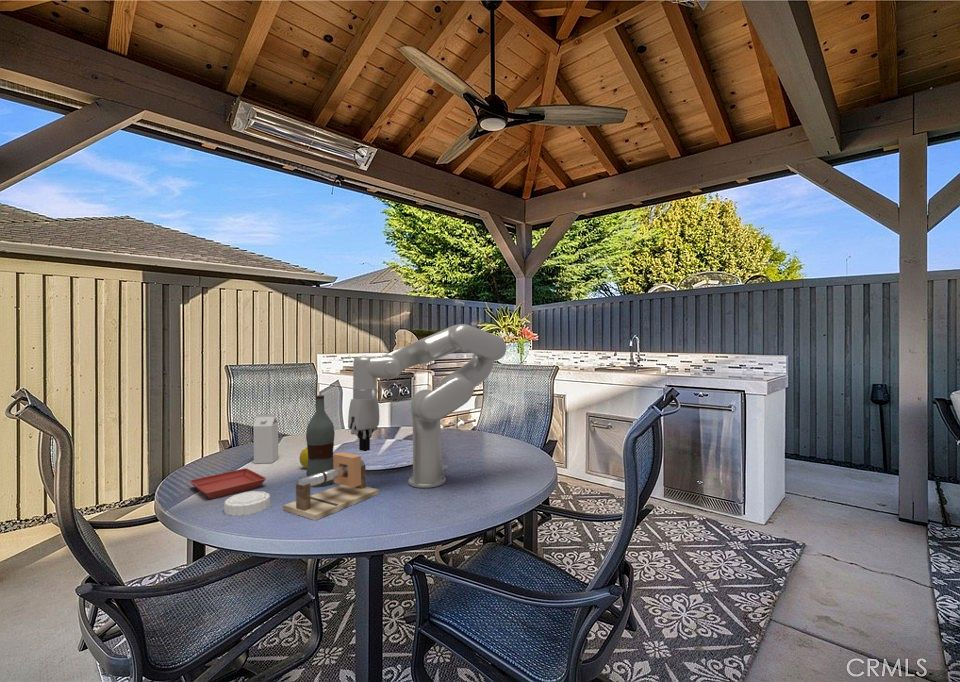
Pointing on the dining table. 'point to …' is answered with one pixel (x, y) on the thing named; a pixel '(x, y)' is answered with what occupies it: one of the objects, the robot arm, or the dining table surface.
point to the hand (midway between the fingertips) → (364, 450)
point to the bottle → (320, 442)
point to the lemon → (304, 457)
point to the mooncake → (247, 503)
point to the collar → (353, 469)
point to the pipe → (325, 476)
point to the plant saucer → (228, 483)
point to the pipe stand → (329, 499)
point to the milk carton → (265, 438)
